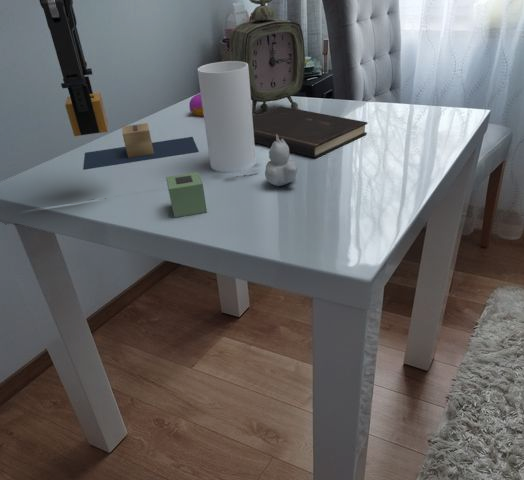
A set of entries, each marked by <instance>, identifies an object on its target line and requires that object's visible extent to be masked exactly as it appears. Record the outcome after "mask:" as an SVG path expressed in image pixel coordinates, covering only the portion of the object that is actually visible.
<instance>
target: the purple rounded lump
mask: <svg viewBox="0 0 524 480" xmlns="http://www.w3.org/2000/svg"><path fill="white" fill-rule="evenodd" d="M189 111H190V112H191V113H192V114H193V115H195V116H197V117H204V114H203V107H202V100H201V92H200V93H197V94H196V95H194V96H192V97H191V99H190V101H189Z"/></svg>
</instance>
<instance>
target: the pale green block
mask: <svg viewBox="0 0 524 480" xmlns="http://www.w3.org/2000/svg"><path fill="white" fill-rule="evenodd" d="M165 179H166V185H167V189H168V194H169V199H170V204H171V205H170V206H171V208H172V212H173V216H174V218H181V217H186V216H192V215H198V214H205V213H207V212H208V209H207V204H206V197H205V196H206V195H205V190H204V184H203V181H202V178H201V176H200V173H199V171H195V172H189V173H183V174H176V175H170V176H166V177H165Z"/></svg>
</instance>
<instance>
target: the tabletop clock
mask: <svg viewBox="0 0 524 480" xmlns="http://www.w3.org/2000/svg"><path fill="white" fill-rule="evenodd" d="M249 1H250V3H253V4H254V5H258V6H256V7H255V8H254V9H253V11H252V14H251V18H250V21H246V22H241V23H240V24H237V25H236V26H234V27H233V28H232V29H231V31H230V35H229V45H228V49H229V50H228V51H229V52H228V53H229V61H239V62H245V63H247V64H248V69H249V81H250V93H251V104H252V117H253V116H255V115H258V114H257V112H256V108H257V103H261V105H260V110H261V111H263V112H266V111H268V107H269V106H268V104H267V103H269V102H275V101H280V100H284V99H286V98H287V100H288V101H289V103H290V108H293V109H298V108H299V105H298V102H296V101H294V100H293V99H292V97H293V96H295V95H296V94H297V93H299V92H300V91H302V89H303V85H304V80H305V68H306V67H305V66H306V65H305V64H306V52H305V51H306V50H305V40H304V39H305V38H304V34H303V29H302V27H301V24H300V23H298V22H295V21H291V20H284V19H278V18H277V15H276V12H275V10H274V9H273V7H272V6H270V5H266V4H269V3H271V2H272V1H273V0H249Z"/></svg>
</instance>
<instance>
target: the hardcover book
mask: <svg viewBox="0 0 524 480" xmlns="http://www.w3.org/2000/svg"><path fill="white" fill-rule="evenodd" d="M252 119H253V131H254V144H258V145H263V146H266V147H270V148H271V147H272V143H274V141H276V134H277V135H278V138H279V140H281V139H282V138H283V140H284V141H285V143H286V144H287V145H288V147H289V153H290V152H291V153H294V154H297V155H298V154H299V155H302V156H307V157H310V158H313V159H317V158H320V157H321V156H324V155H326V154H328V153H330V152H333V151H334V150H336V149H339V148H341V147H343V146H345V145H347V144H350V143H352V142H354V141H356V140H358V139H360V138H362V137H364V136H366V135H368V133H367V132H366V125H368V123H369V122H367V121H363V120H358V119H352V118H347V117H342V116H335V115H330V114H326V113H320V112H315V111H310V110H303V109H298V108H297V109H293V108H291V107H287V106H282V105H280V106H277V107H275V108H272V109H269V110H266V111H263V112H261V113H258V114H257V115H255V116H253V117H252Z"/></svg>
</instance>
